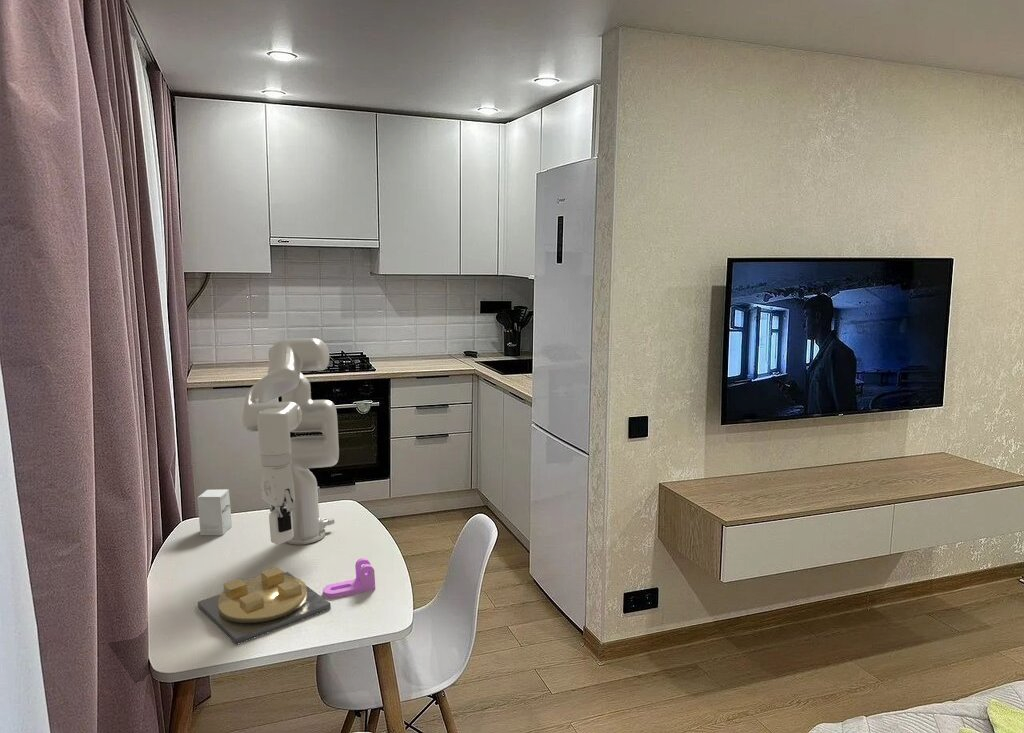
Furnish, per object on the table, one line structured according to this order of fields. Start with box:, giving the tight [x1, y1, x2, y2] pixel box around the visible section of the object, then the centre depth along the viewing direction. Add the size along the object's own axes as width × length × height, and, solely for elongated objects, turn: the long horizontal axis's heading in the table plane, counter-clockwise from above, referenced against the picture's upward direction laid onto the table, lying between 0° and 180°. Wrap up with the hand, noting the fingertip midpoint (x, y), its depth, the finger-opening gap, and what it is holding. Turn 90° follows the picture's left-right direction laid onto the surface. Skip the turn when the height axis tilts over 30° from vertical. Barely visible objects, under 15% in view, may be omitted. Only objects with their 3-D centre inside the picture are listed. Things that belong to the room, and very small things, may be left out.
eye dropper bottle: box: [268, 502, 294, 545], centre depth 189 cm, size 4×6×12 cm
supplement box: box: [196, 488, 233, 536], centre depth 237 cm, size 7×7×13 cm
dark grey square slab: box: [197, 571, 332, 645], centre depth 189 cm, size 24×24×2 cm
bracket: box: [322, 557, 376, 599], centre depth 197 cm, size 13×6×7 cm, turn 114°
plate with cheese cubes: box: [218, 566, 307, 623], centre depth 188 cm, size 21×21×4 cm
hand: (281, 527), depth 190 cm, fingers closed on eye dropper bottle, 3 cm apart
